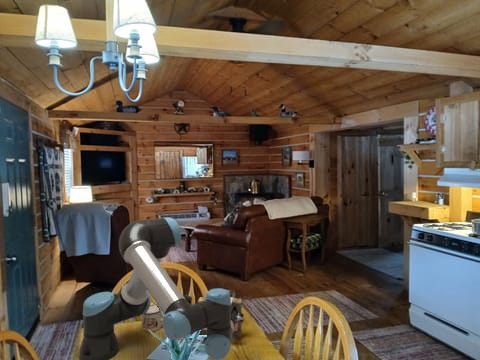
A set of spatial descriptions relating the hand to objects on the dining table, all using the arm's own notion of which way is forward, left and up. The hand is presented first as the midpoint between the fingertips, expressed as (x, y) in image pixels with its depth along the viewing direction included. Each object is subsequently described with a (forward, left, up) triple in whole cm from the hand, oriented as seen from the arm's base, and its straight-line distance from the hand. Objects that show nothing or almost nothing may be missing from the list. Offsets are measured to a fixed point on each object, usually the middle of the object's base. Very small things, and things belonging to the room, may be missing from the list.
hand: (231, 300), depth 143 cm
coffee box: (+8, +25, -22) cm, 34 cm away
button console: (+1, +16, -22) cm, 27 cm away
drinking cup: (-11, +31, -22) cm, 39 cm away
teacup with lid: (-24, +36, -22) cm, 48 cm away
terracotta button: (+5, +8, -15) cm, 18 cm away
